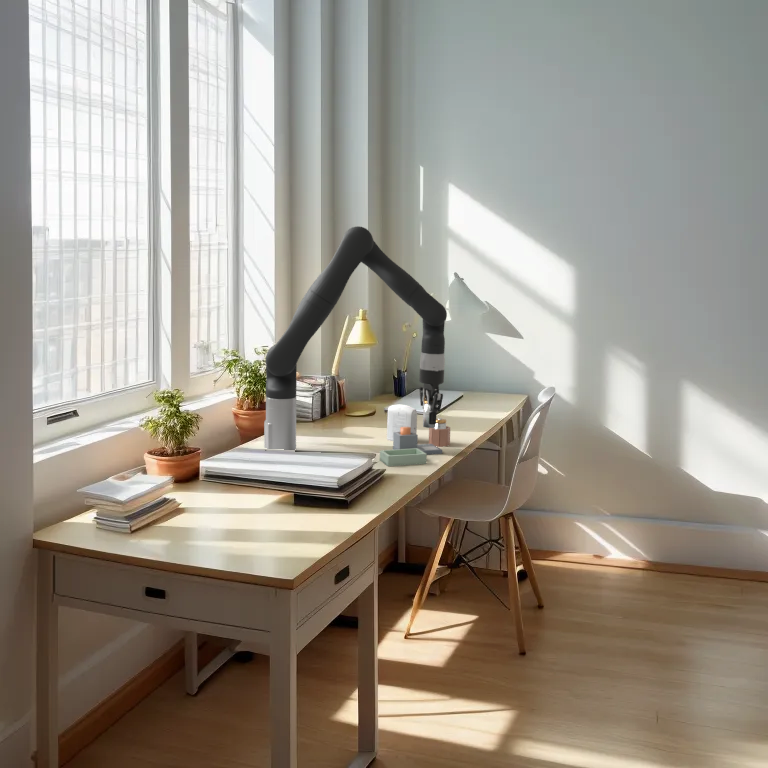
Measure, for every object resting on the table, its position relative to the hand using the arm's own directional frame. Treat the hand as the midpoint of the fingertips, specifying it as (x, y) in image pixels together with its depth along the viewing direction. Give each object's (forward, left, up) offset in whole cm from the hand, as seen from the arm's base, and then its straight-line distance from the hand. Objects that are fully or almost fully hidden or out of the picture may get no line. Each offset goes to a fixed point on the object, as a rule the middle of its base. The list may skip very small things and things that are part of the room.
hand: (429, 422), depth 273 cm
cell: (0, 0, -1) cm, 1 cm away
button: (-7, +3, -7) cm, 10 cm away
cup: (+7, +9, -10) cm, 15 cm away
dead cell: (+7, +9, -9) cm, 15 cm away
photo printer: (-3, +17, -10) cm, 20 cm away
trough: (-12, -9, -10) cm, 17 cm away
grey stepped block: (-3, +1, -10) cm, 10 cm away
